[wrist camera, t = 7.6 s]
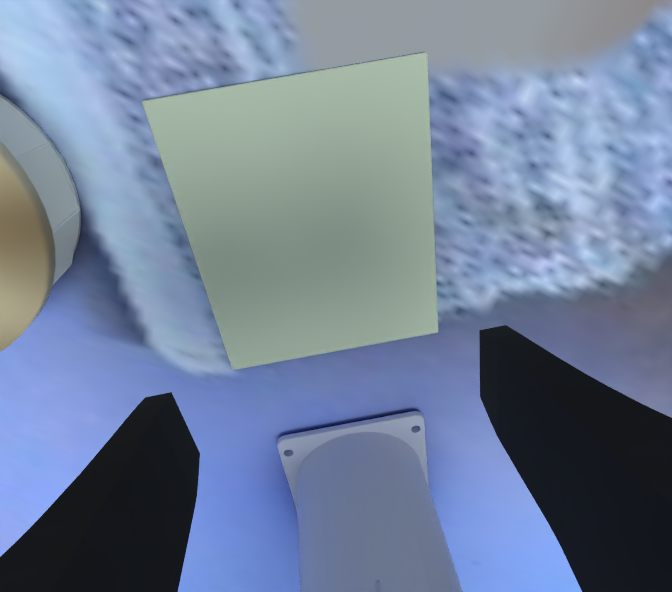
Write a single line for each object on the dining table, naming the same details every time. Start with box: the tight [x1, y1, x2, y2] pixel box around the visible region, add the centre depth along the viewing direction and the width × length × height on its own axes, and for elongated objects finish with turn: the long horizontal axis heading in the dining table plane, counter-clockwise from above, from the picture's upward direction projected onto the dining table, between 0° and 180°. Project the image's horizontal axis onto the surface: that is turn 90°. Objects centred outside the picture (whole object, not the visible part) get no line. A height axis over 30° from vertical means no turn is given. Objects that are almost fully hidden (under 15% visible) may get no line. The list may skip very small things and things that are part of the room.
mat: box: [142, 52, 438, 370], centre depth 19 cm, size 12×10×1 cm
